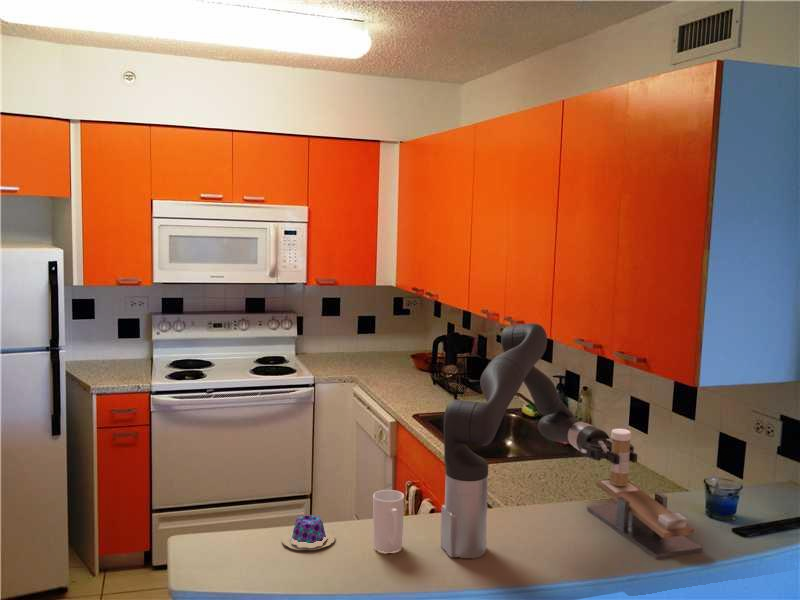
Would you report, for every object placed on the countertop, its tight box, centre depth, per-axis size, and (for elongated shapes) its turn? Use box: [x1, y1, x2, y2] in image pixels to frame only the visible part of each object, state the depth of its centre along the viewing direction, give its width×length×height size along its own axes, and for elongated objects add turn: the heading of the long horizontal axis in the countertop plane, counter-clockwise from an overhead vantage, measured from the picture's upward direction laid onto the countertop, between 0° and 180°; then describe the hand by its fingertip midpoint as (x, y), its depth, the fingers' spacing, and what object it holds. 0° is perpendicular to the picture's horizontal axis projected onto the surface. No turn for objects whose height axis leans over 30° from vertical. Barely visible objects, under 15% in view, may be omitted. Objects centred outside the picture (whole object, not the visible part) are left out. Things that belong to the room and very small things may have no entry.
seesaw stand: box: [586, 492, 703, 560], centre depth 169 cm, size 12×27×8 cm, turn 18°
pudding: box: [292, 514, 326, 543], centre depth 161 cm, size 12×12×5 cm
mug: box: [372, 489, 405, 552], centre depth 156 cm, size 10×7×12 cm, turn 16°
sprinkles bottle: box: [609, 428, 632, 486], centre depth 177 cm, size 5×5×13 cm
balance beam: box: [595, 478, 695, 538], centre depth 169 cm, size 8×26×3 cm, turn 18°
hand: (627, 459), depth 174 cm, fingers closed on sprinkles bottle, 4 cm apart
